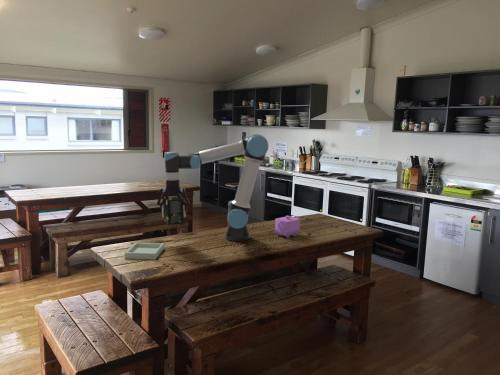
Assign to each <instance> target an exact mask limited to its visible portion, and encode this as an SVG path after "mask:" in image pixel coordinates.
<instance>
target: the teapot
mask: <svg viewBox="0 0 500 375" xmlns="http://www.w3.org/2000/svg"><path fill="white" fill-rule="evenodd" d="M300 217H301V215H298V216H296V217H293V216H290V215H285V216H282V217H278V218H275V221H274V222H275V224H274V226H275V227H274V233H275V234H277V235H278V236H280V237H281V236H285V238H286V239H290V236H292V237H296V236H297V235H298V234H300V233H301V219H300Z"/></svg>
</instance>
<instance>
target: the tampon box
mask: <svg viewBox="0 0 500 375" xmlns="http://www.w3.org/2000/svg"><path fill="white" fill-rule="evenodd" d="M164 198H165V196H163V199H164ZM182 198H183V197H182ZM182 198H178V197H177V195H176V196H170V195H169V196H168V198H165V202H164V204H163V205H164V210H165V217H163V218H164V222H165V223H166V225H168V226H174V225H184V224H185V218H184V210H183V206H184V205H183V199H184V198H183V199H182Z"/></svg>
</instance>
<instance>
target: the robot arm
mask: <svg viewBox="0 0 500 375" xmlns="http://www.w3.org/2000/svg"><path fill="white" fill-rule="evenodd" d="M268 150H269V141H268V140H267V138H266V137H265V136H264V135H261V134H258V133H256V134H253V135H250V136H248V137H244V138H242V139H240V141H236V142H233V143H232V142H231V143H229V144H228V143H227V144H224V145H221V146H216V147H212V148H208V149H204V150H201V151H196V152H191V153H188V154H187V155H180V154H179V152H178V151H167V152H165V153H164V164H165V165H164V167H165V179H166V180H165V187H161V188H160V194H159V196H158V199H157V202H156V205H157V206H159V208H160V209H159V210H160V212H161V216H162V218H164V217H165V210H164V202H165V198H168V196H177V197H178V198H182V199H183V210H184V219H185V218H186V217H187V216H186V212H187V211H188V206H189V205H190V204H191V202H190V199H189V197H188V194H187V192H186V187H183V188H181V187H180V170H182V169H184V170H186V169H187V170H189V169H190V170H195V169H200V168H201V165H203V164H207V163H212V162H215V161H219V160H223V159H228V158H231V157H236V156H240V155H243V156H244V158H245V160H244V164H243V169H242V171H241V174H240V179H239V183H238V186H237V190H236V192H235V197H234V199H233V200H229V201H228V203H227V207H228V208H227V211H228V212H227V217H226V220H227V223H228V224H227V228H226V230H225V235H224V236H225V239H226V240H228V241H231V242H232V241H233V242H243V241H244V242H245V241H247V240H250V238H251V234H250V230H249V227H248V221H249V216H250V212H251V204H250V201H251V199H252V198H251V197H252V195H253V190H254V187H255V184H256V180H257V176H258V173H259V170H260V166H261V164H262V163H263V162H264V161H265V158H266V155H267V152H268ZM165 192H166V195H165V196H163V195H164V193H165ZM180 192H181V193H182V195H183V197H182V195H181V193H180ZM164 197H165V198H164ZM162 198H163V199H162Z"/></svg>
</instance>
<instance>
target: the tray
mask: <svg viewBox="0 0 500 375" xmlns="http://www.w3.org/2000/svg"><path fill="white" fill-rule="evenodd" d="M164 249H165V243H162V242H161V243H158V242H135V243H134V244H132V245H131V246H130V247H129V248H128V249H127V250H126V251H125V252H124V259H131V260H132V259H135V260H137V259H138V260H156V259H157V258H158V257H159V255H160V254H161V253H162V252H163V251H164Z"/></svg>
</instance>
